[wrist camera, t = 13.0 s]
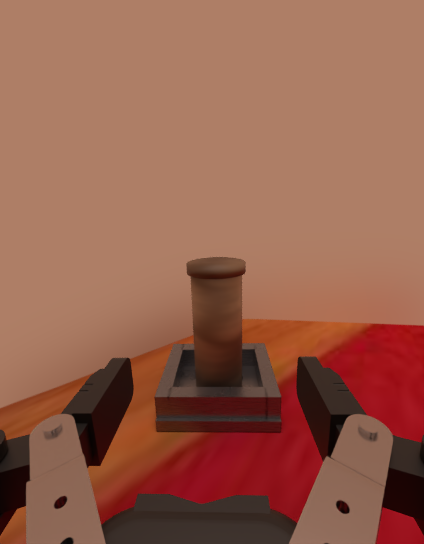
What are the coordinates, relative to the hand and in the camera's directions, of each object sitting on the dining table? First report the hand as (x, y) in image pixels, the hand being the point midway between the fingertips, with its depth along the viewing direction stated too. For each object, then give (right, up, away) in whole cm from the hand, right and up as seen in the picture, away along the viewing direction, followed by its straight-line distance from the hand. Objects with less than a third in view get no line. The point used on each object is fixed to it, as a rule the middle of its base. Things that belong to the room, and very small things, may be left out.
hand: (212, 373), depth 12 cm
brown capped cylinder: (+1, -6, +13) cm, 14 cm away
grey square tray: (+1, -7, +13) cm, 15 cm away
